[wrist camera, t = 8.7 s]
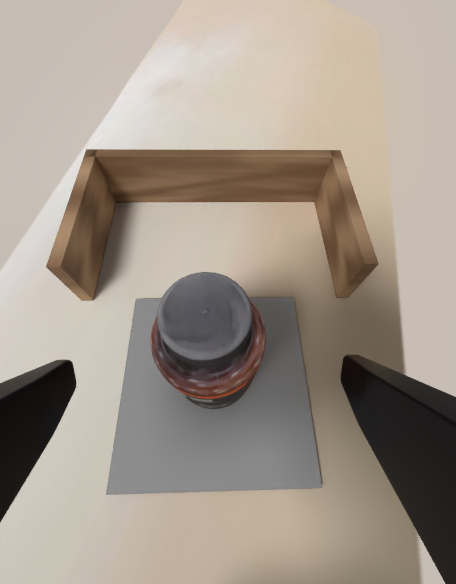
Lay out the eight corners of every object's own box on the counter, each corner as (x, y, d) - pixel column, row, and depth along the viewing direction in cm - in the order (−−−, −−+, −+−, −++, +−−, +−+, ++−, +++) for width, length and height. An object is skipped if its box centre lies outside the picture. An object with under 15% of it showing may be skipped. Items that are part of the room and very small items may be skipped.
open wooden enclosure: (347, 297, 25) (378, 264, 20) (81, 300, 24) (46, 266, 19) (321, 195, 31) (340, 150, 26) (108, 195, 30) (86, 149, 25)
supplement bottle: (234, 322, 23) (244, 236, 13) (265, 391, 20) (306, 350, 10) (166, 348, 22) (118, 275, 12) (189, 424, 19) (154, 414, 9)
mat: (320, 487, 18) (322, 488, 18) (108, 493, 18) (106, 494, 17) (292, 298, 25) (293, 297, 24) (137, 300, 24) (135, 298, 24)
